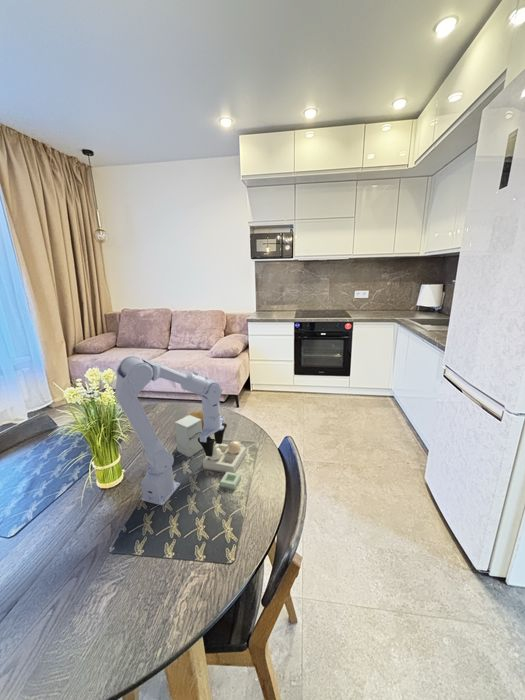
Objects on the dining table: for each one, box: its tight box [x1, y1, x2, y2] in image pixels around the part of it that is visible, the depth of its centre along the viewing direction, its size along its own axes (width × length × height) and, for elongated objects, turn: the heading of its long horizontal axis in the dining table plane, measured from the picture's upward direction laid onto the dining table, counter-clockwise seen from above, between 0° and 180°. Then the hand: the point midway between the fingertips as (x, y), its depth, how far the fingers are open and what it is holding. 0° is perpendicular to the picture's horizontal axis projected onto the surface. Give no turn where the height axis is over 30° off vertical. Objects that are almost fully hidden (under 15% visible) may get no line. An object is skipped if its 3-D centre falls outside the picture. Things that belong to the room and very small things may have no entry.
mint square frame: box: [219, 472, 242, 491], centre depth 96 cm, size 5×5×2 cm
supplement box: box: [173, 414, 204, 458], centre depth 114 cm, size 7×7×13 cm
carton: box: [202, 443, 247, 473], centre depth 107 cm, size 12×12×3 cm
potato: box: [188, 410, 204, 430], centre depth 129 cm, size 10×14×8 cm
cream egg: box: [208, 446, 222, 461], centre depth 105 cm, size 5×5×5 cm
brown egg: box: [227, 440, 242, 455], centre depth 108 cm, size 5×5×5 cm
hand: (214, 449), depth 104 cm, fingers open, 7 cm apart
